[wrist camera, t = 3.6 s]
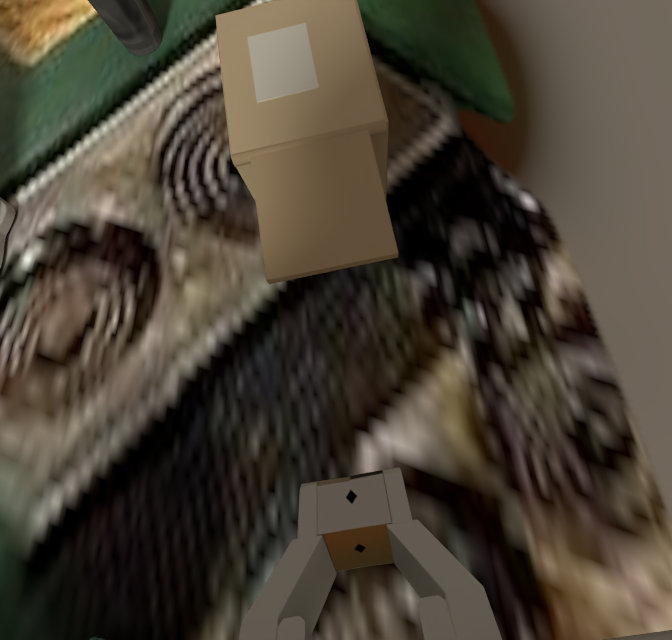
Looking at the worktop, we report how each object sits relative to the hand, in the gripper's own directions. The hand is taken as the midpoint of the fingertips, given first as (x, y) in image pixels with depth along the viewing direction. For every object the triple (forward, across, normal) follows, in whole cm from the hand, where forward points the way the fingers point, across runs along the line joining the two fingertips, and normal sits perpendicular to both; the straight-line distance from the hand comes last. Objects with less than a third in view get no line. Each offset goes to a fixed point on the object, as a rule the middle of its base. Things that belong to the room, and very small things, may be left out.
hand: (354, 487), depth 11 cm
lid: (+22, 0, -9) cm, 24 cm away
